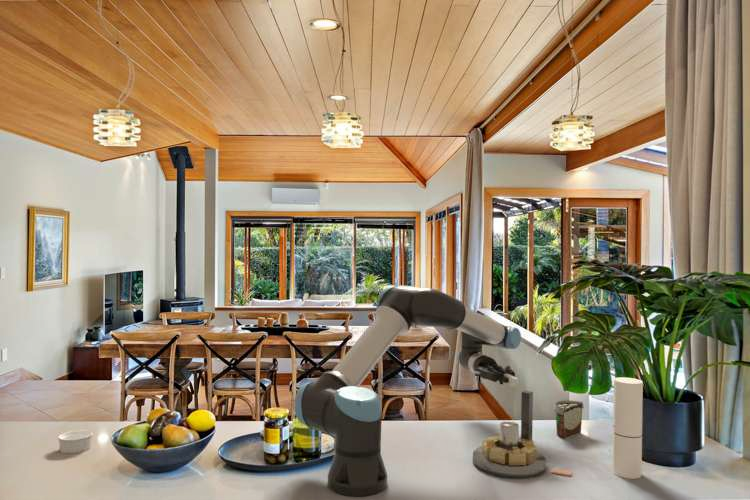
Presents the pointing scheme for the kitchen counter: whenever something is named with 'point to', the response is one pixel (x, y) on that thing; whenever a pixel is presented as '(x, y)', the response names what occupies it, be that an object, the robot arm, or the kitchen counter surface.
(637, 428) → the cylindrical container
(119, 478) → the kitchen counter surface
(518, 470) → the flange
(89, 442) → the ramekin
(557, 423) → the food container
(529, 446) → the geared hub with post
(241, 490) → the kitchen counter surface
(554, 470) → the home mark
